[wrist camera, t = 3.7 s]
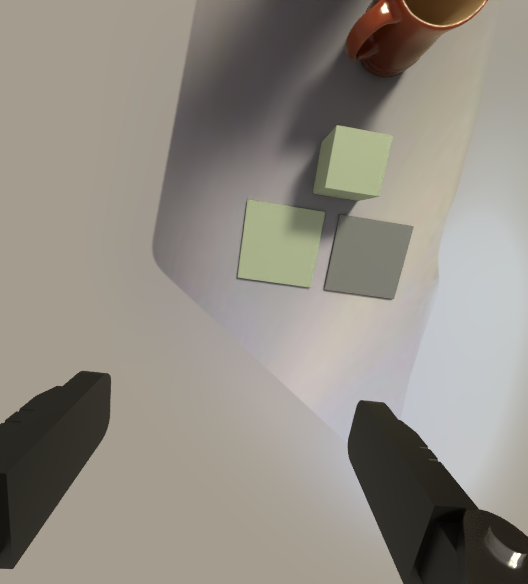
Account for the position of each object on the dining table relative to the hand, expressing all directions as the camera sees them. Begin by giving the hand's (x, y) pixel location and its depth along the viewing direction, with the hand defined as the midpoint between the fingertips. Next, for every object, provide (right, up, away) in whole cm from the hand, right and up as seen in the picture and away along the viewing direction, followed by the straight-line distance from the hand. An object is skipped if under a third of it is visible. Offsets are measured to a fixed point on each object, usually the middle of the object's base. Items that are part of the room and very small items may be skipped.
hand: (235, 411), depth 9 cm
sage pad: (+3, +10, +27) cm, 29 cm away
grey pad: (+15, +8, +28) cm, 33 cm away
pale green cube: (+11, +19, +26) cm, 33 cm away
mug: (+13, +31, +23) cm, 41 cm away
